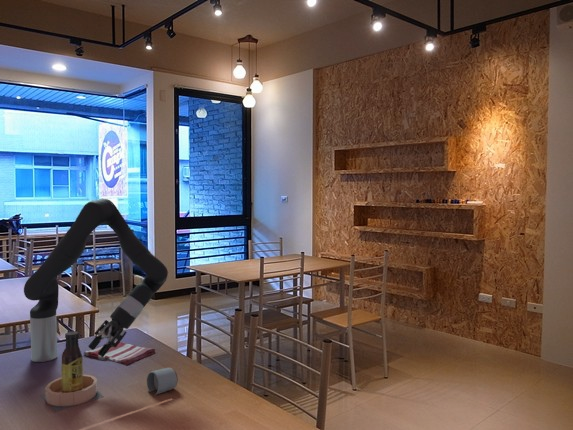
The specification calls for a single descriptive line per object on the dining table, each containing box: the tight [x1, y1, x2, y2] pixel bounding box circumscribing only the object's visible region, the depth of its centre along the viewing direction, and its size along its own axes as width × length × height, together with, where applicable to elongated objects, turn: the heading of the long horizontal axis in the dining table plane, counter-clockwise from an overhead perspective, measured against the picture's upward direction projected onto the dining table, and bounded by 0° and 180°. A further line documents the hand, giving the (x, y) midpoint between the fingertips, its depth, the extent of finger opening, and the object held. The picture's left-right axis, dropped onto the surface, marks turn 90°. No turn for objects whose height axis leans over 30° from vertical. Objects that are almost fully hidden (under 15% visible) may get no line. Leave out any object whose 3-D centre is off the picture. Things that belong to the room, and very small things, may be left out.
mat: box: [40, 390, 105, 413], centre depth 154 cm, size 15×15×1 cm
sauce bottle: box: [61, 330, 84, 393], centre depth 154 cm, size 7×6×20 cm
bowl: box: [44, 374, 99, 407], centre depth 154 cm, size 15×15×4 cm
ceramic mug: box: [146, 367, 179, 396], centre depth 161 cm, size 11×8×8 cm
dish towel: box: [83, 341, 156, 366], centre depth 194 cm, size 17×23×3 cm
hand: (95, 351), depth 158 cm, fingers open, 8 cm apart
